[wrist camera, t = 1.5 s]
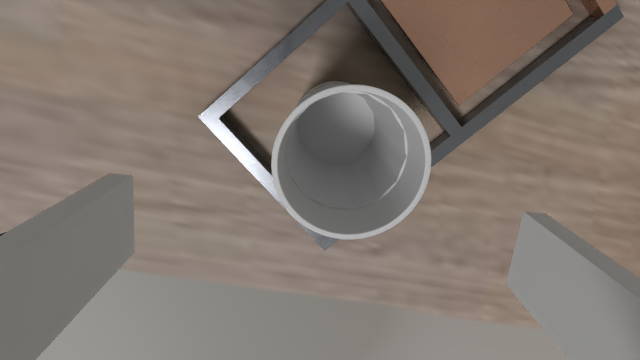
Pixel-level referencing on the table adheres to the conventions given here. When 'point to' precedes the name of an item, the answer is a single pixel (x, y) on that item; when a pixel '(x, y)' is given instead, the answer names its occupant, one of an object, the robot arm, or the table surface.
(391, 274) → the table surface
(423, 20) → the two-slot metal tray
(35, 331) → the robot arm
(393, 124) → the cup
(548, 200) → the table surface
